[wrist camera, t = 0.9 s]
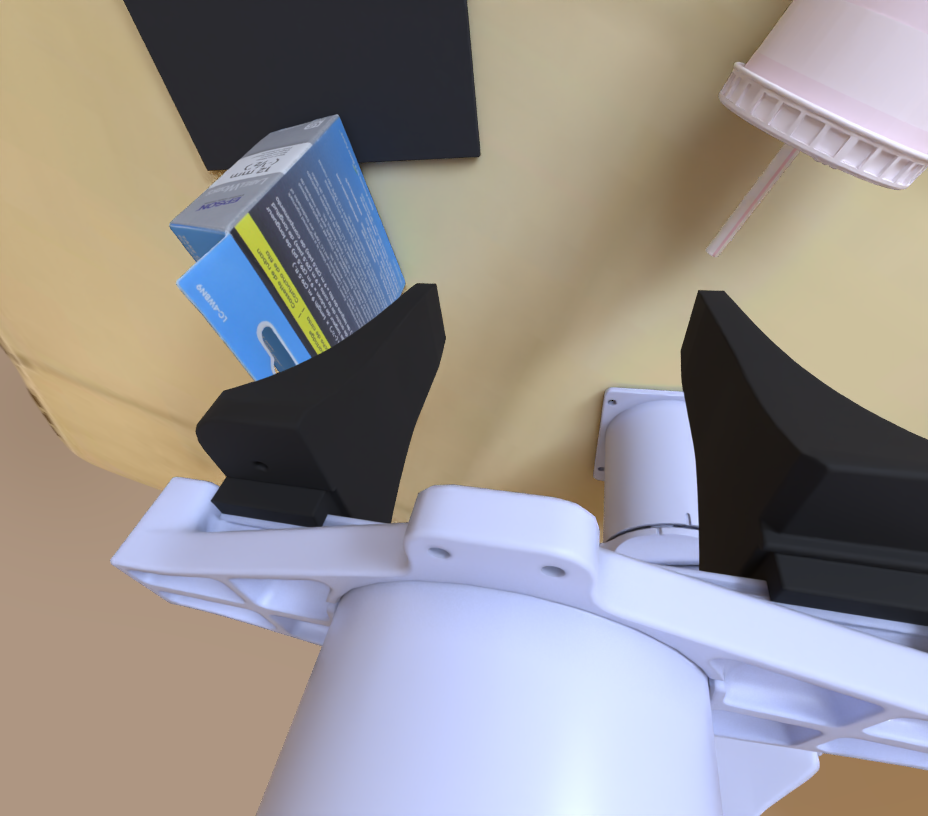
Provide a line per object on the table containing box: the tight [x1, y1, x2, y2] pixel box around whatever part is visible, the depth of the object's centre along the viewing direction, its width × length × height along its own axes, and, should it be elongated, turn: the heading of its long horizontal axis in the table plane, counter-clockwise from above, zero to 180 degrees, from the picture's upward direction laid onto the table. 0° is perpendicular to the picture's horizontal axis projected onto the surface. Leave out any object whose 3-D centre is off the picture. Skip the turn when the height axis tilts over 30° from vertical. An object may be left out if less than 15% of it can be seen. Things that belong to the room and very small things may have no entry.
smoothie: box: [705, 0, 928, 257], centre depth 13 cm, size 6×6×14 cm
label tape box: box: [169, 114, 405, 381], centre depth 20 cm, size 9×4×12 cm, turn 14°
